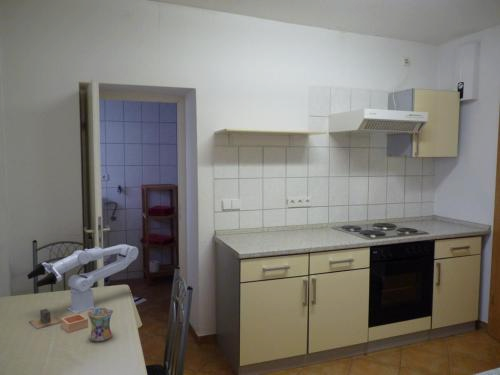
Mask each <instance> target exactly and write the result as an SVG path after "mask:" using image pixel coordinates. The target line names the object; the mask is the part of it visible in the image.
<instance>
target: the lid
mask: <svg viewBox="0 0 500 375" xmlns="http://www.w3.org/2000/svg"><path fill="white" fill-rule="evenodd" d="M39 312H40V313H39V315H40V317H39V318H36V319H35V318H34V319H31V320H28V322H29V323H30V324H31V325H33V326H34V327H35V328H36V329H39V330H42V329H41V328H43V329H45V328H44V327H47V328H49V327H48V326H50V327H53V326H52V325H54V326H56V325H55V324H57V325H60V324H59V323H61V318H58V317H57V316H56V315H55V314H51V311H50V310H48V309H47V308H43V309H40V311H39ZM29 323H28V324H29ZM30 324H29V325H30ZM31 325H30V326H31Z"/></svg>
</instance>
